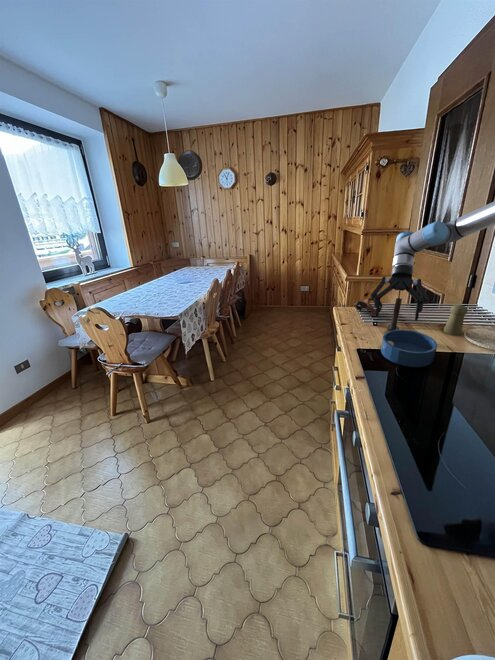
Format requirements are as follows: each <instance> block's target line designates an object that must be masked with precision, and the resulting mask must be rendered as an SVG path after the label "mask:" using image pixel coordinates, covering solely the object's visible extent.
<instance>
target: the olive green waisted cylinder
mask: <svg viewBox="0 0 495 660" xmlns="http://www.w3.org/2000/svg"><path fill="white" fill-rule="evenodd" d="M467 313H468V308H467V306H465V305H462V304H454V305H452V306H451V308H450V315H449V317H448V319H447V321H446V323H445V326H444V327H443V332H444V333H446V334H448V335H452V336H460V335H462V333H463V327H464V319H465V316H466V315H467Z"/></svg>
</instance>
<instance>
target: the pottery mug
mask: <svg viewBox="0 0 495 660" xmlns="http://www.w3.org/2000/svg"><path fill="white" fill-rule="evenodd" d="M371 301H373V302H374V303H375V300H374V299H371V297H369V298H366V299H364V300H362V301H361V300H357V301H356V302H355V303H354V308H355V309H356V310H357V311H358V312H359V313H361V312H362V311H363V309H365V310H369V311H370V314H369V316H370V317H375V316H376V311H377V308H375V309H374V305H372V304H371ZM382 308H383V303H382V302H381V301H380V305H379V312H378V314H380V313H381V312H382Z"/></svg>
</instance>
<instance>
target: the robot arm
mask: <svg viewBox="0 0 495 660" xmlns="http://www.w3.org/2000/svg"><path fill="white" fill-rule="evenodd" d="M493 226H495V200H494V201H492V202H490V203H488V204H485V205H483V206H481V207H479V208H477V209H475V210H472V211H470V212H468V213H466V214H464V215H462V216H460V217H458V218H454V219H452V220H450V221H449V222H448V221H447V222H442V221H440V220H436V221H434V222H431V223H429V224H426V225H425V226H424V227H422V228H420V229H419V230H416V231H415V232H414V231H411V230H410V231H408V230H407V231H404V232H400V233H399V234H397V236H396V240H395V243H394V251H393V258H392V266H391V272H390V273H391V274H390V278H389V277H388V278H387V277H386V276H382V277H381V281H380V282H379V283H378V284H377V286H376V287H375V289H374V290H373V291H372V293H371V294H370V298H371V299H374V300H375V302H374V304H373V307H374V308H375V309H376V308H377V311H376V315H375V317H378V316H379V313H378V312H379V308H380V307H379V305H380V302H381V299H382V298H383V297H384V296H386V295H387V294H388V293H389V292H392V290H394V291H406V292H407V293H408V294H409V295H410V296H411V297H412V298H413V299H414V301H415V302H416V305H415V313H414V321H416V322H417V321H418V320H419V316H420V315H419V314H420V313H422V311H423V310H424V309H423V308H424V304H425V305H427V304H429V301H430V298H429V296H428V295H427V292H426V289H425V288H424V287H423V285H422V284H423V283H422V279H421V278H417V279H413V272H414V264H415V256H416V253H419V252H421V251H424V250H425V249H427V248H431V247H434V246H439V245H443V244H448V243H454V242H457V241H459V240H462V239H463V238H464V237H467V236H469V235H472V234H475V233H477V232H480V231H482V230H485V229H487V228H491V227H493ZM387 283H389V284H388V286H387V287H386V288H384V289H383V287H384V285H386V284H387ZM413 285H414V287H416V290H417V291H418V292H417V291H416V290H415V289H414V288H413ZM382 289H383V290H382ZM381 290H382V291H381ZM374 300H373V301H374Z"/></svg>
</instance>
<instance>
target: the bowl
mask: <svg viewBox="0 0 495 660" xmlns="http://www.w3.org/2000/svg"><path fill="white" fill-rule="evenodd" d="M381 339H382V340H381V344H380V353H381V355H382V356H383V357H384V358H385V359H386V360H388V361H390V362H392V363H394V364H395V365H400V366H404V367H409V368H424V367H428V366H430V365H431V364H433V362H434V360H435V356H436V353H437V349H438V345H439V344H438V342H437V341H436V340H435V339H434V338H433V337H431V336H429V335H427V334H426V333H422V332H419V331H415V330H410V329H399V330H392V331H388V332H384V334H383V335H382V338H381ZM387 341H392V342H393V343H394V346H393V345H391V344H389V343H388V342H387Z"/></svg>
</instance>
